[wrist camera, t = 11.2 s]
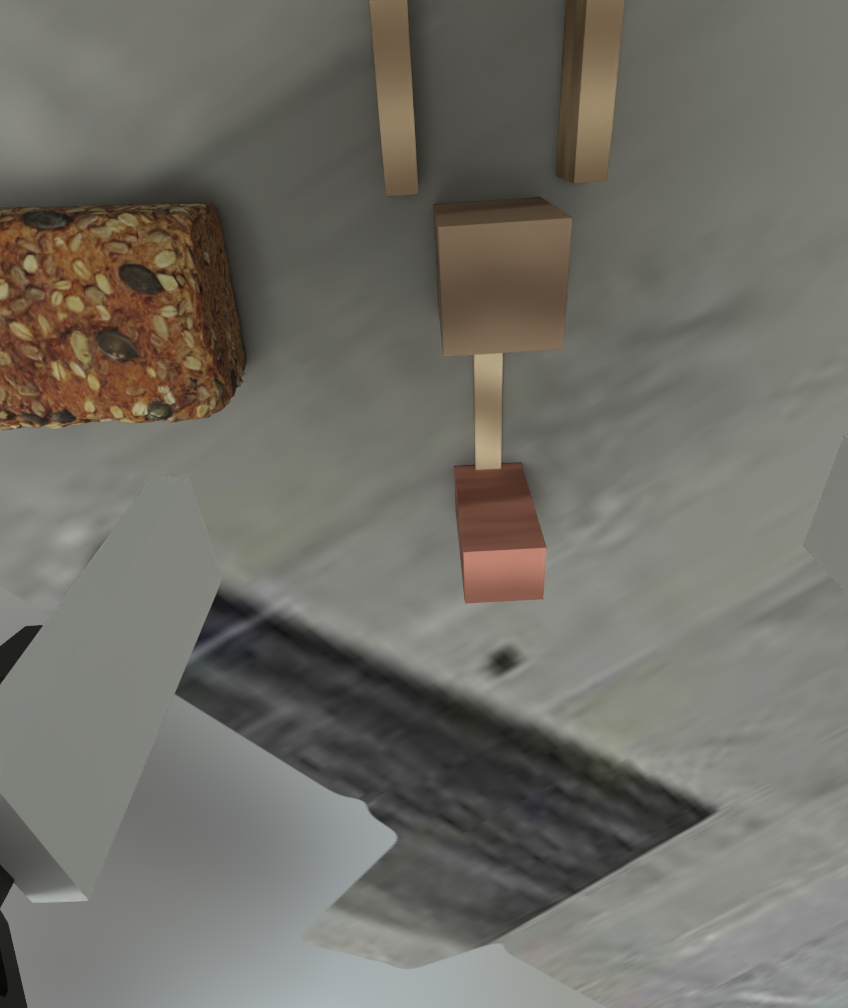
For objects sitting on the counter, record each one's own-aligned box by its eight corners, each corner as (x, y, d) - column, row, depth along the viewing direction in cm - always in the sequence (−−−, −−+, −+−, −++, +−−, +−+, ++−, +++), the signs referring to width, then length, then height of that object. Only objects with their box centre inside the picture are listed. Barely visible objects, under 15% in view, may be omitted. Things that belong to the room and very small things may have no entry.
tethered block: (433, 204, 33) (439, 234, 25) (540, 197, 33) (582, 225, 25) (447, 512, 45) (455, 603, 36) (527, 508, 45) (552, 598, 36)
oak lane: (359, -173, 25) (350, -223, 21) (614, -195, 25) (648, -248, 21) (389, 187, 33) (385, 196, 29) (585, 173, 32) (606, 181, 29)
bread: (-27, 377, 39) (-149, 449, 30) (-110, 194, 33) (-289, 221, 24) (258, 373, 39) (215, 444, 30) (226, 190, 33) (162, 215, 24)
